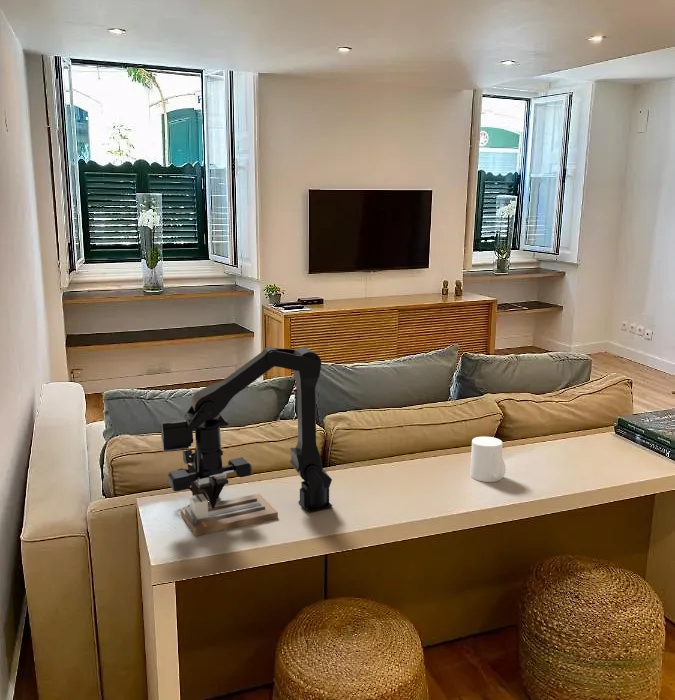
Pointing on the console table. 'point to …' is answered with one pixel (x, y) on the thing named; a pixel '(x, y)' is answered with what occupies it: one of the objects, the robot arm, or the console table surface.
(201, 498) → the fader tab
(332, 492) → the console table surface
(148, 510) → the console table surface
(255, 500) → the fader board
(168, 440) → the robot arm
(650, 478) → the console table surface
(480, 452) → the mug
